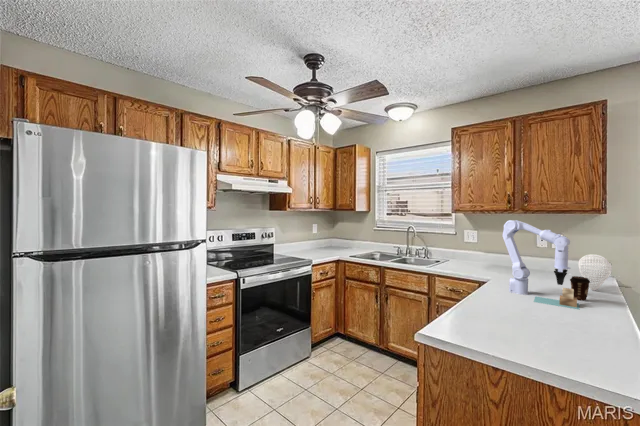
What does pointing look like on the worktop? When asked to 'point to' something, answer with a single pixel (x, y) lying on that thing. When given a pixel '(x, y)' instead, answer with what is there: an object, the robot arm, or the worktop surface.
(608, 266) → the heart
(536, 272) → the worktop surface
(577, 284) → the coffee cup
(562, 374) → the worktop surface
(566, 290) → the maple block
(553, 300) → the build board
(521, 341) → the worktop surface
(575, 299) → the walnut block
